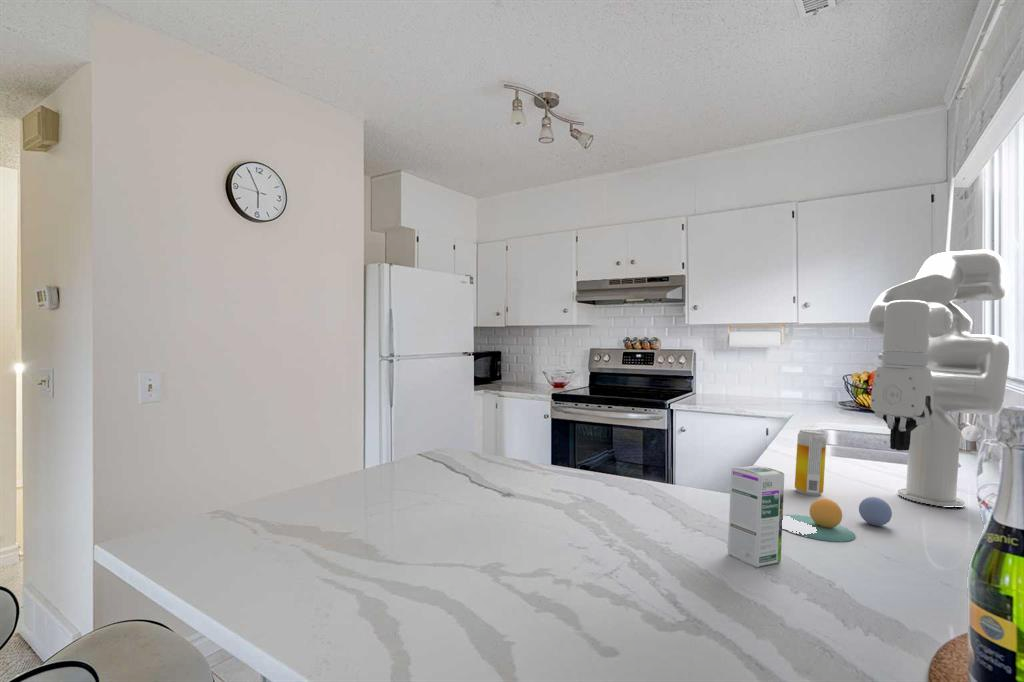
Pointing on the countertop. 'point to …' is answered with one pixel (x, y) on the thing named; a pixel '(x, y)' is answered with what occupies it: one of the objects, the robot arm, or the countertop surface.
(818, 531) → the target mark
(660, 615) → the countertop surface
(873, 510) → the blue ball
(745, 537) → the syrup box
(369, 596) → the countertop surface
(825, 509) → the orange ball
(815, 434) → the drink can
